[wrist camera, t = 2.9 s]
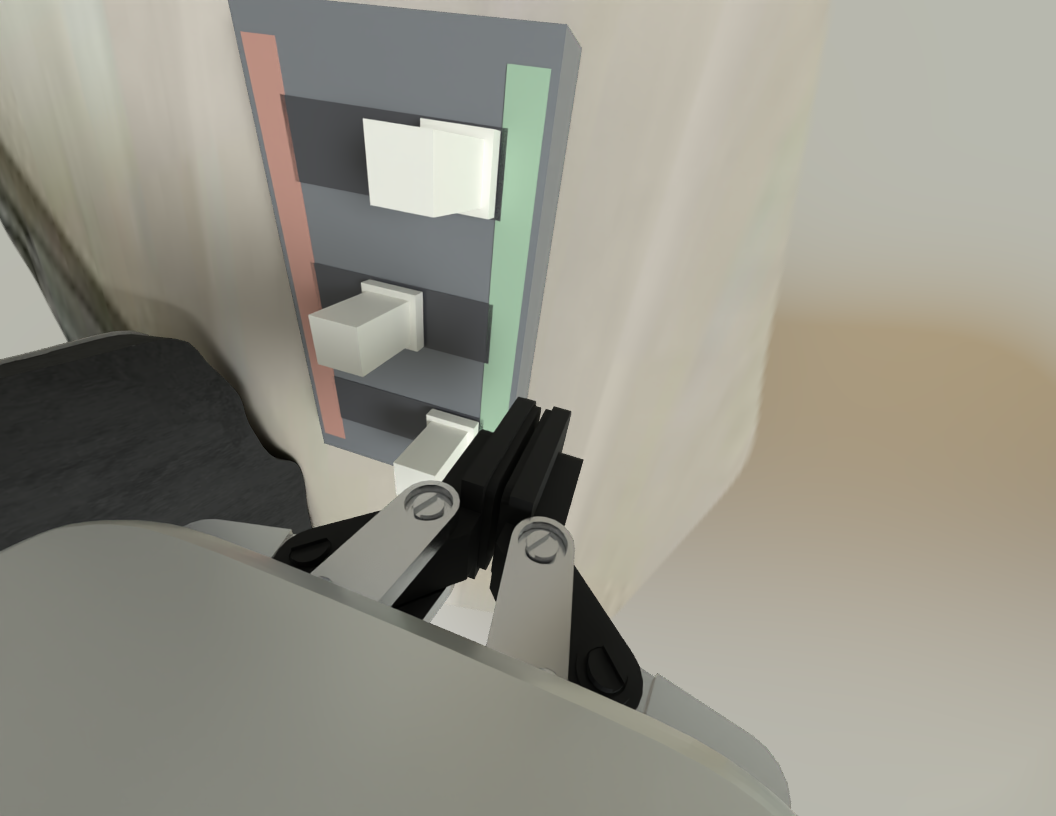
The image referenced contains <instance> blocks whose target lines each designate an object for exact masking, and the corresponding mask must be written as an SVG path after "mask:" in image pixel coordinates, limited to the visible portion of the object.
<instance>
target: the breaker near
mask: <svg viewBox="0 0 1056 816" xmlns="http://www.w3.org/2000/svg"><path fill="white" fill-rule="evenodd" d="M363 128H364V139H365V150H366V161H367V173H368V184H369V195H370V205H373V206H378V207H383V208H388V209H393V210H398V211H403V212H408V213H413V214H418V215H423V216H428V217H433V218H434V217H439V216H445V215H450V214H455V213H458V214H463V215H468V216H473V217H478V218H483V219H491V218H494V212H495V199H496V186H497V172H498V159H499V145H500V132H501V131H499V130H495V129H489V128H483V127H476V126H470V125H463V124H456V123H450V122H443V121H437V120H430V119H424V118H420V127H415V126H409V125H403V124H396V123H390V122H383V121H377V120H371V119H364V118H363Z"/></svg>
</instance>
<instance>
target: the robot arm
mask: <svg viewBox="0 0 1056 816" xmlns="http://www.w3.org/2000/svg"><path fill="white" fill-rule="evenodd" d="M540 413H541V407H537V406H536V401H533V400H530V399H526V398H523V397H517V399H516V400H515V402H514V403H513V405H512V406H511V408H510V409H509V410H508V412H507V413H506V415H505V416H504V418H503V419H502V421H501V422H500V424H499V425H498V427H497V428H496V429H495V431H494V432H491V431H488V430H484V429H482V430H480V431H479V432H478V433H477V435H476V436H475V437H474V439H473V440H472V441H471V443H470V444H469V445H468V447H467V448H466V450H465V451H464V452H463V454H462V455H461V456H460V458H459V459H458V460H457V462H456V463H455V464H454V466H453V467H452V468H451V470H450V471H449V472H448V474H447V475H446V476H445V478H444V479H443V480H442V482H441V481H433V480H428V481H421V482H418V483H415V484H413V485H411V486H409V487H408V488H406V489H405V490H404V491H403V492H402V493H400V494H399V495H398V496H397V497H396V498H395V499H394V500H393V501H391V502H390V503H389V504H388V505H387V506H386V507H385V508H384V509H382V510H381V511H377V512H373V513H369V514H365V515H361V516H358V517H354V518H350V519H346V520H342V521H339V522H335V523H331V524H327V525H323V526H319V527H316V528H312V529H308V530H306V531H303V532H300V533H298V534H293V533H292V530H291V529H285V528H277V527H270V526H263V525H255V524H248V523H241V522H234V521H226V520H219V519H204V520H200V521H196V522H192V523H190V524H188V525H186V526H183V527H181V526H177V525H172V524H168V523H160V522H152V521H142V520H100V521H88V522H81V523H74V524H69V525H65V526H61V527H57V528H54V529H51V530H48V531H45V532H43V533H40V534H37V535H35V536H33V537H30V538H28V539H26V540H23V541H21V542H19V543H17V544H14V545H12V546H10V547H8V548H6V549H4V550H2V551H0V816H797V815H796V814H795V813H794V812H793V811H792V810H791V801H790V795H789V789H788V784H787V781H786V779H785V777H784V775H783V772H782V770H781V768H780V766H779V764H778V762H777V761H776V760H775V758H774V757H773V756H772V754H771V753H770V751H769V750H768V749H767V748H766V747H765V746H764V745H763V744H762V743H760V742H759V741H758V740H757V739H756V738H755V737H754V736H752V735H751V734H749V733H748V732H746V731H745V730H743V729H742V728H740V727H738V726H737V725H736V724H734V723H733V722H731V721H729V720H728V719H726V718H725V717H723V716H722V715H720V714H719V713H717V712H716V711H714V710H713V709H711V708H710V707H708V706H707V705H705V704H704V703H702V702H701V701H699V700H698V699H696V698H694V697H693V696H691V695H690V694H688V693H687V692H685V691H684V690H682V689H681V688H679V687H678V686H676V685H674V684H673V683H672V682H670V681H669V680H667V679H666V678H664V677H663V676H661V675H659V674H658V673H657V674H656V676H655V677H654V676H652V675H651V674H649V673H648V672H646V671H645V670H643V669H642V668H640V666H639V664H638V662H637V660H636V659H635V657H634V655H633V653H632V652H631V650H630V648H629V647H628V645H627V644H626V642H625V641H624V639H623V638H622V637H621V635H620V634H619V632H618V630H617V629H616V627H615V626H614V624H613V623H612V621H611V620H610V618H609V617H608V615H607V614H606V612H605V611H604V609H603V608H602V606H601V605H600V603H599V602H598V600H597V599H596V597H595V596H594V594H593V593H592V591H591V590H590V588H589V587H588V585H587V584H586V582H585V580H584V579H583V577H582V576H581V574H580V573H579V571H578V570H577V568H576V567H575V565H574V554H575V547H574V540H573V538H572V536H571V534H570V532H569V531H568V530H567V529H566V528H565V527H564V526H565V523H566V519H567V516H568V512H569V509H570V505H571V502H572V498H573V495H574V491H575V488H576V484H577V481H578V477H579V474H580V470H581V467H582V463H583V459H580V458H576V457H573V456H570V455H567V454H563V453H562V449H563V445H564V441H565V437H566V433H567V429H568V425H569V421H570V416H571V411H569V410H565V409H562V408H558V407H555V406H554V407H553V409H552V411H551V410H548V409H546V410H545V412H544V413H543V415H542V417H541V419H540ZM539 419H540V421H539ZM492 556H493V561H492V568H491V572H492V576H491V583H490V590H491V592H492V595H493V597H494V599H495V601H496V605H495V609H494V614H493V619H492V623H491V627H490V631H489V635H488V640H487V644H486V646H483V645H481V644H479V643H476V642H474V641H471V640H469V639H467V638H465V637H462V636H460V635H457V634H455V633H453V632H450V631H448V630H445V629H443V628H440V627H438V626H436V625H433V624H431V623H430V622H431V620H432V619H433V618H434V616H435V615H436V614H437V612H438V611H439V609H440V608H441V607H442V605H443V604H444V602H445V601H446V600H447V598H448V597H449V595H450V594H451V592H452V590H453V588H454V584H456V583H458V582H461V581H464V580H466V579H467V577H469V578H472V579H475V577H476V575H477V573H478V570H479V568H481V569H484V570H486V569H487V567H488V565H489V563H490V561H491V559H492Z"/></svg>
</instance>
